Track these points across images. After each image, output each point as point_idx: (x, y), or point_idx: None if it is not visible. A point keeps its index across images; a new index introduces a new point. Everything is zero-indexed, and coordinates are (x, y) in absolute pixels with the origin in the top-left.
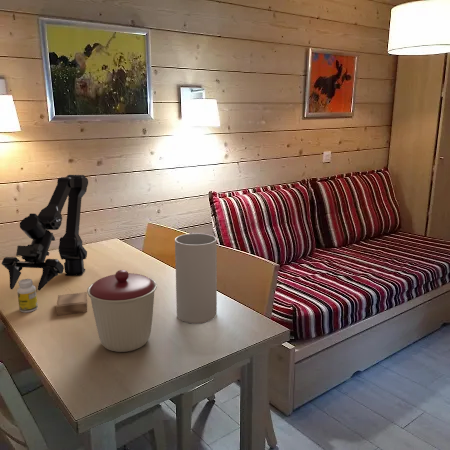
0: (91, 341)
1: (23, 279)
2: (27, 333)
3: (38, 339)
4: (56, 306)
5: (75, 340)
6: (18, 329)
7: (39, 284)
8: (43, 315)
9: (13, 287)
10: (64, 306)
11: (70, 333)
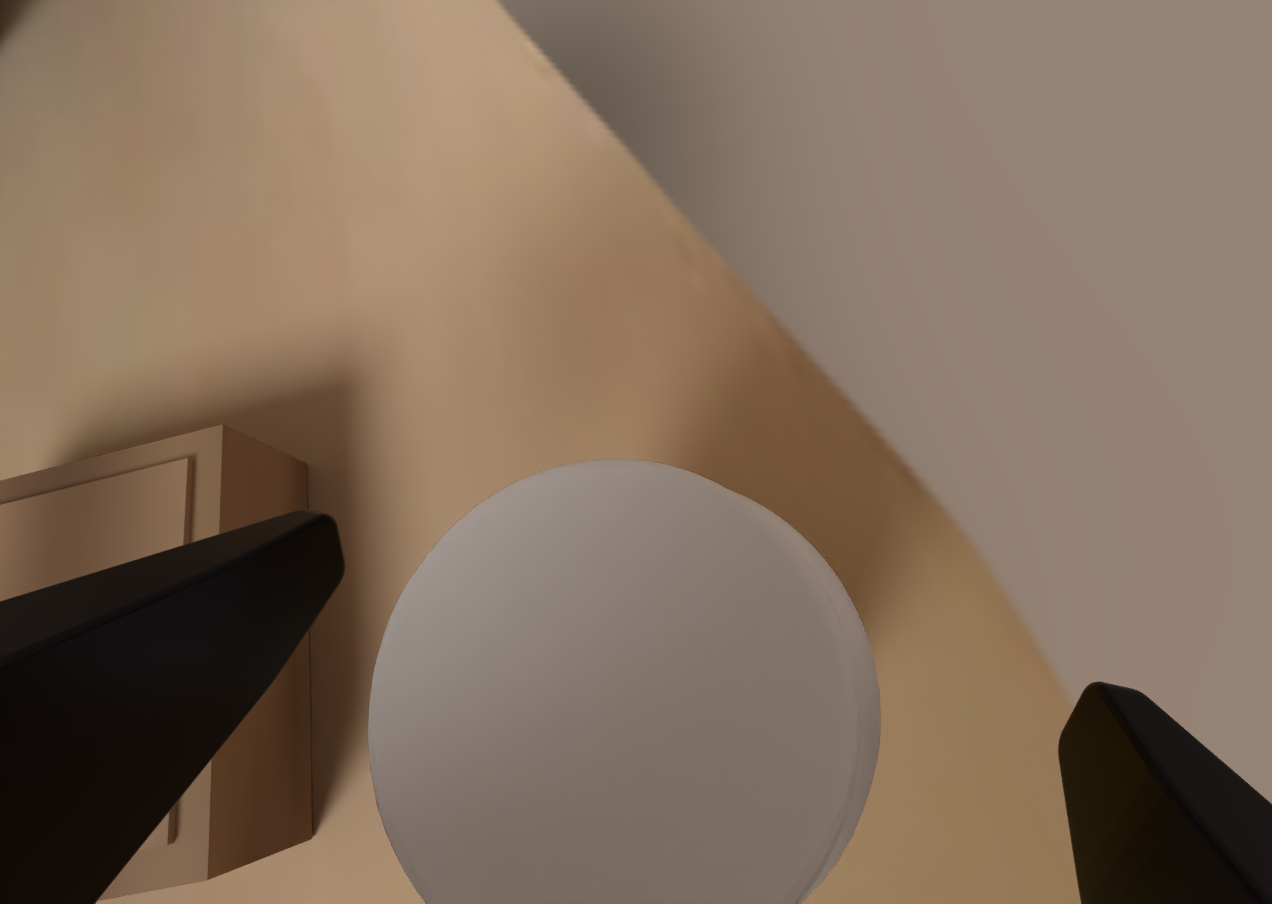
0: (57, 55)
1: (740, 902)
2: (520, 124)
3: (409, 51)
4: (218, 426)
5: (153, 58)
6: (627, 182)
7: (196, 552)
8: (453, 474)
9: (1073, 811)
10: (137, 451)
11: (183, 140)
